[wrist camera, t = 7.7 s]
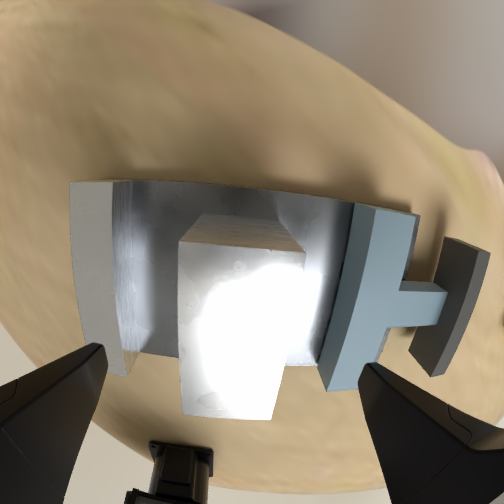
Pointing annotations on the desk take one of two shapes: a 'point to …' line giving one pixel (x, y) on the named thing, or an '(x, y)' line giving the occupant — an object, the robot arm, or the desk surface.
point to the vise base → (166, 259)
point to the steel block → (235, 314)
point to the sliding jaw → (397, 298)
